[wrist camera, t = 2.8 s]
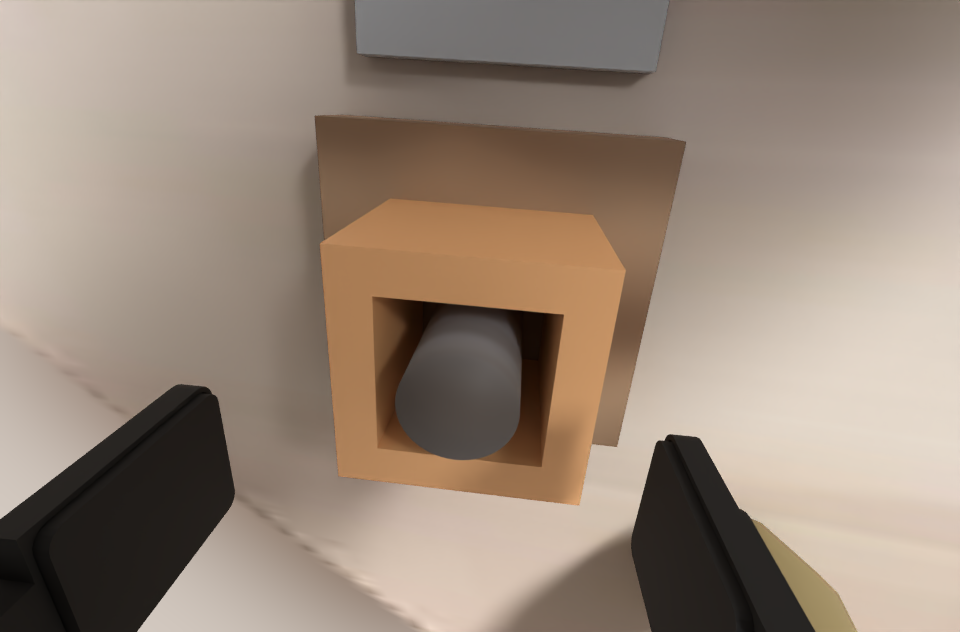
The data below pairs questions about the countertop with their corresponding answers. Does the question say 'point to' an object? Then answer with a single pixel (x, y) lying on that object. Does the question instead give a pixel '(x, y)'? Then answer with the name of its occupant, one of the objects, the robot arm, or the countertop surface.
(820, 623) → the squeeze bottle
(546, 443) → the collar
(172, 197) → the countertop surface
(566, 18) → the pad
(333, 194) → the stand
